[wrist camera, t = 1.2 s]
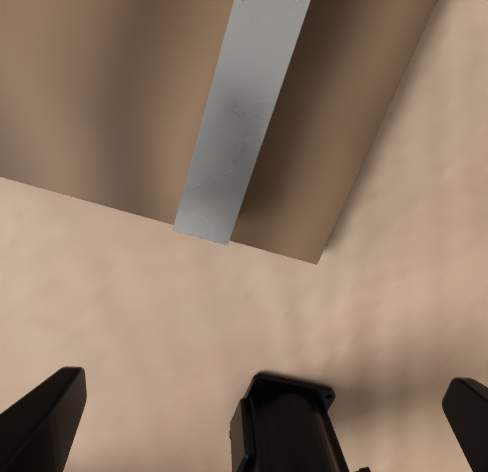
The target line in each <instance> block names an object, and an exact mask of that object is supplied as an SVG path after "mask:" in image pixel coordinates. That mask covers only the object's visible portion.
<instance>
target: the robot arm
mask: <svg viewBox="0 0 488 472" xmlns="http://www.w3.org/2000/svg"><path fill="white" fill-rule="evenodd" d="M259 381H261V382H259ZM86 398H87V391H86V380H85V371H84V369H83V368H82V367H63V368H61V369H59V370H58V371H57V372H55V373H54V374H53V375H51V376H50V377H49V378H47V379H46V380H45V381H44V382H42V383H41V384H40V385H38V386H37V387H36V388H34V389H33V390H32V391H30V392H29V393H28V394H26V395H25V396H24V397H22V398H21V399H20V400H18V401H17V402H16V403H14V404H13V405H12V406H10V407H9V408H8V409H6V410H5V411H4V412H2V413H1V414H0V472H63V470H64V467H65V464H66V461H67V458H68V455H69V452H70V449H71V446H72V443H73V440H74V437H75V434H76V431H77V428H78V425H79V422H80V419H81V416H82V413H83V410H84V407H85V404H86ZM334 399H335V393H334V391H333V389H332V388H329V387H324V386H319V385H314V384H309V383H303V382H298V381H293V380H288V379H283V378H278V377H273V376H268V375H263V374H258V375H255V376H254V377H253V378H252V381H251V383H250V385H249V388H248V390H247V392H246V394H245V397H244V398H242V399H241V400H240V402H239V404H238V406H237V408H236V411H235V413H234V415H233V418H232V420H231V422H230V432H229V434H230V439H231V454H232V472H349V469H348V466H347V463H346V461H345V458H344V455H343V453H342V450H341V447H340V445H339V442H338V439H337V436H336V434H335V431H334V428H333V426H332V423H331V420H330V418H329V415H328V412H327V411H328V409H329V407H330V406H331V404H332V402H333V400H334ZM442 408H443V411H444V413H445V415H446V417H447V419H448V422H449V424H450V426H451V428H452V430H453V432H454V434H455V436H456V438H457V440H458V442H459V444H460V446H461V448H462V450H463V452H464V455H465V457H466V459H467V461H468V463H469V465H470V467H471V469H472V471H473V472H488V388H487V387H486V386H484V385H482V384H481V383H479V382H477V381H476V380H474V379H471V378H459V377H457V378H454V379H452V381H451V382H450V384H449V387H448V389H447V391H446V393H445V395H444V398H443V400H442ZM355 472H371V471H370V469H369V467H365V468H360V469H359V471H355Z"/></svg>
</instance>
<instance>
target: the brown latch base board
mask: <svg viewBox="0 0 488 472" xmlns="http://www.w3.org/2000/svg"><path fill="white" fill-rule="evenodd" d="M233 2H234V0H0V177H3V178H7V179H10V180H14V181H17V182H21V183H25V184H28V185H32V186H35V187H39V188H43V189H46V190H50V191H53V192H57V193H61V194H64V195H68V196H71V197H75V198H79V199H82V200H86V201H89V202H93V203H97V204H100V205H104V206H107V207H111V208H115V209H118V210H122V211H126V212H129V213H133V214H136V215H140V216H144V217H147V218H151V219H154V220H158V221H162V222H165V223H169V224H172V225H174V222H175V219H176V215H177V211H178V207H179V204H180V200H181V196H182V193H183V189H184V185H185V181H186V178H187V174H188V170H189V166H190V163H191V159H192V155H193V151H194V148H195V144H196V140H197V136H198V133H199V129H200V125H201V122H202V118H203V114H204V110H205V107H206V103H207V99H208V95H209V92H210V88H211V84H212V80H213V77H214V73H215V69H216V65H217V62H218V58H219V54H220V51H221V47H222V43H223V39H224V36H225V32H226V28H227V24H228V21H229V17H230V13H231V9H232V6H233ZM436 2H437V0H310V3H309V6H308V9H307V12H306V15H305V18H304V21H303V24H302V27H301V30H300V33H299V36H298V39H297V42H296V45H295V48H294V50H293V53H292V56H291V59H290V62H289V65H288V68H287V71H286V74H285V77H284V80H283V83H282V86H281V89H280V92H279V95H278V98H277V101H276V104H275V107H274V110H273V113H272V116H271V118H270V121H269V124H268V127H267V130H266V133H265V136H264V139H263V142H262V145H261V148H260V151H259V154H258V157H257V160H256V163H255V166H254V169H253V172H252V175H251V178H250V181H249V184H248V187H247V189H246V192H245V195H244V198H243V201H242V204H241V207H240V210H239V213H238V216H237V219H236V222H235V225H234V228H233V231H232V234H231V237H230V241H234V242H237V243H241V244H244V245H248V246H252V247H255V248H259V249H262V250H266V251H270V252H273V253H277V254H281V255H284V256H288V257H291V258H295V259H299V260H302V261H306V262H309V263H313V264H317V263H318V261H319V259H320V257H321V255H322V252H323V250H324V248H325V246H326V244H327V241H328V239H329V237H330V235H331V233H332V230H333V228H334V226H335V224H336V222H337V219H338V217H339V215H340V213H341V211H342V208H343V206H344V204H345V202H346V200H347V197H348V195H349V193H350V191H351V189H352V186H353V184H354V182H355V180H356V178H357V175H358V173H359V171H360V169H361V167H362V164H363V162H364V160H365V158H366V156H367V153H368V151H369V149H370V147H371V145H372V143H373V140H374V138H375V136H376V134H377V132H378V129H379V127H380V125H381V123H382V121H383V118H384V116H385V114H386V112H387V110H388V107H389V105H390V103H391V101H392V99H393V96H394V94H395V92H396V90H397V88H398V85H399V83H400V81H401V79H402V77H403V74H404V72H405V70H406V68H407V66H408V63H409V61H410V59H411V57H412V55H413V52H414V50H415V48H416V46H417V44H418V41H419V39H420V37H421V35H422V33H423V30H424V28H425V26H426V24H427V22H428V19H429V17H430V15H431V13H432V11H433V8H434V6H435V4H436Z"/></svg>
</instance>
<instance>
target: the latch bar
mask: <svg viewBox="0 0 488 472" xmlns="http://www.w3.org/2000/svg"><path fill="white" fill-rule="evenodd" d="M309 3H310V0H234V2H233V6H232V9H231V13H230V17H229V21H228V24H227V28H226V32H225V36H224V39H223V43H222V47H221V51H220V54H219V58H218V62H217V65H216V69H215V73H214V77H213V80H212V84H211V88H210V92H209V95H208V99H207V103H206V107H205V110H204V114H203V118H202V122H201V125H200V129H199V133H198V136H197V140H196V144H195V148H194V151H193V155H192V159H191V163H190V166H189V170H188V174H187V178H186V181H185V185H184V189H183V193H182V196H181V200H180V204H179V207H178V211H177V215H176V219H175V222H174V226H173V231H177V232H181V233H184V234H188V235H192V236H195V237H199V238H203V239H206V240H210V241H214V242H217V243H221V244H224V245H228V243H229V240H230V237H231V234H232V231H233V228H234V225H235V222H236V219H237V216H238V213H239V210H240V207H241V204H242V201H243V198H244V195H245V192H246V189H247V187H248V184H249V181H250V178H251V175H252V172H253V169H254V166H255V163H256V160H257V157H258V154H259V151H260V148H261V145H262V142H263V139H264V136H265V133H266V130H267V127H268V124H269V121H270V118H271V116H272V113H273V110H274V107H275V104H276V101H277V98H278V95H279V92H280V89H281V86H282V83H283V80H284V77H285V74H286V71H287V68H288V65H289V62H290V59H291V56H292V53H293V50H294V48H295V45H296V42H297V39H298V36H299V33H300V30H301V27H302V24H303V21H304V18H305V15H306V12H307V9H308V6H309Z"/></svg>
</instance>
